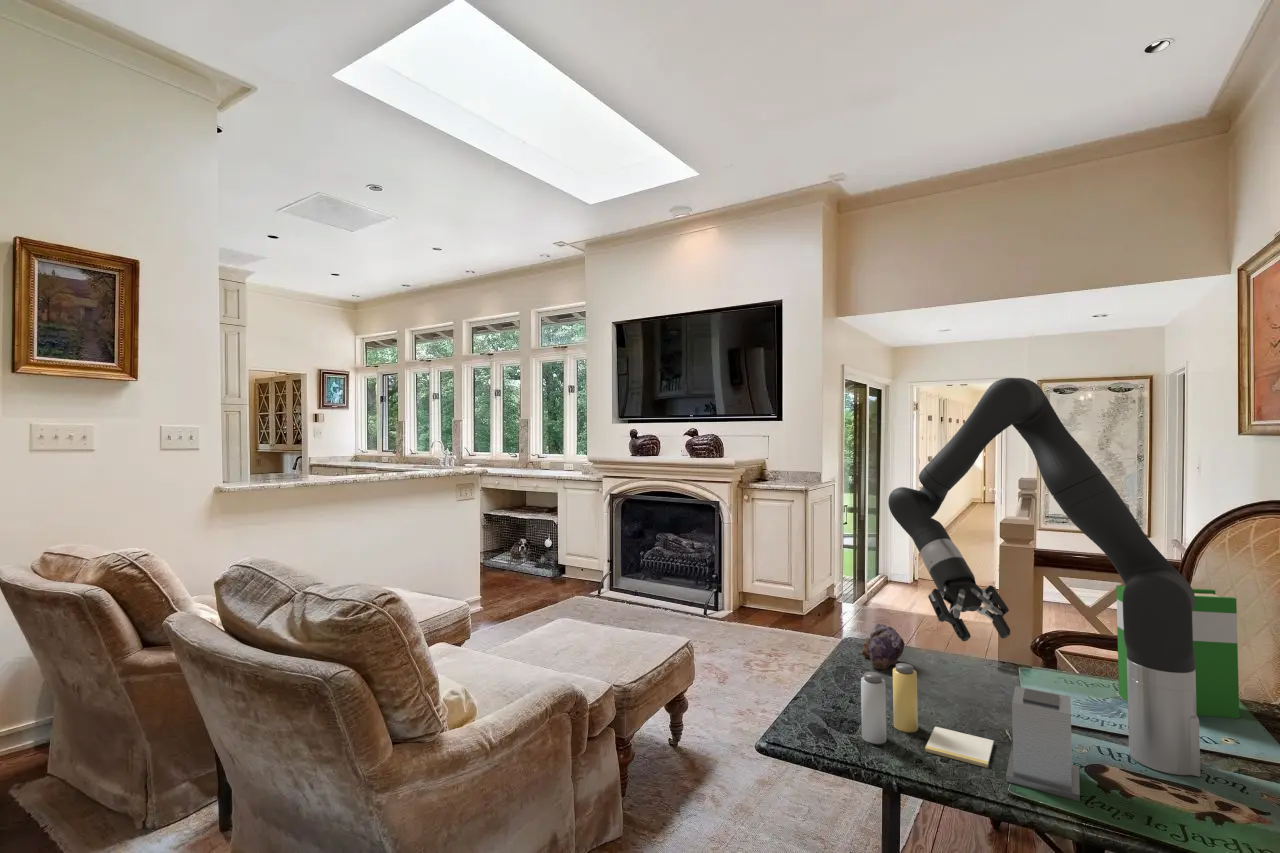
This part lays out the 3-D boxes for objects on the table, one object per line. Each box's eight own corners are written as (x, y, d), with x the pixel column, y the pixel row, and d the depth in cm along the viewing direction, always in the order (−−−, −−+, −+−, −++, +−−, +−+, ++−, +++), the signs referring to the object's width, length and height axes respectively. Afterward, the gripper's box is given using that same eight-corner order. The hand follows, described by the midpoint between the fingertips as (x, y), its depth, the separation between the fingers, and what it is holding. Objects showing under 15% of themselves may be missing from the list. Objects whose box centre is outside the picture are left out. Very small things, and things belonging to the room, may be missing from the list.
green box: (1215, 702, 131) (1212, 589, 131) (1239, 718, 124) (1236, 598, 124) (1118, 694, 135) (1116, 585, 136) (1136, 709, 128) (1133, 593, 128)
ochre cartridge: (919, 725, 122) (918, 664, 123) (915, 734, 119) (914, 672, 119) (896, 719, 125) (895, 660, 125) (891, 728, 121) (890, 667, 121)
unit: (1079, 772, 105) (1077, 693, 105) (1079, 801, 97) (1077, 715, 97) (1010, 755, 111) (1009, 680, 111) (1006, 781, 103) (1004, 700, 103)
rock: (865, 674, 152) (909, 676, 150) (864, 641, 151) (908, 643, 148) (859, 650, 163) (900, 652, 161) (859, 619, 162) (899, 621, 160)
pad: (993, 743, 115) (993, 740, 115) (987, 767, 107) (987, 764, 107) (935, 729, 121) (935, 726, 121) (925, 751, 112) (925, 747, 112)
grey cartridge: (889, 736, 118) (887, 673, 118) (883, 746, 115) (882, 681, 115) (865, 730, 121) (864, 669, 121) (859, 739, 117) (858, 676, 117)
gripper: (923, 557, 126) (963, 631, 114) (985, 554, 128) (1030, 625, 117) (908, 577, 131) (944, 649, 120) (967, 573, 133) (1009, 644, 122)
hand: (986, 637), depth 118 cm, fingers open, 8 cm apart
